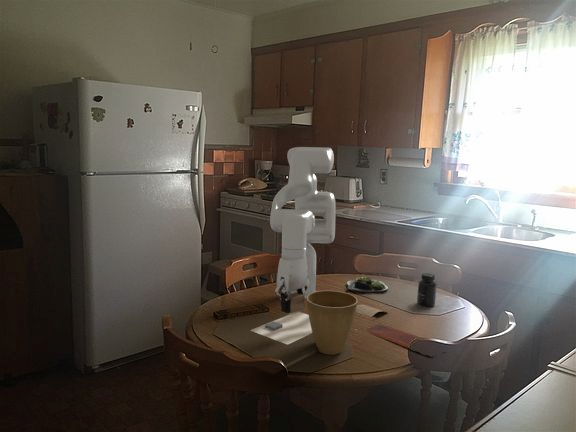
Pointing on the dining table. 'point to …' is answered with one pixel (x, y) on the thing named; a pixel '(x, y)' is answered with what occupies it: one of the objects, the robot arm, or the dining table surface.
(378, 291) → the salad plate
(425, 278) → the supplement bottle
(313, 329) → the plant pot
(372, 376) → the dining table surface
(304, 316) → the white flat rectangle
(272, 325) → the graphite mark
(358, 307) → the clay tablet
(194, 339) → the dining table surface
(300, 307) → the sanding block
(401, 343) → the wooden tablet
